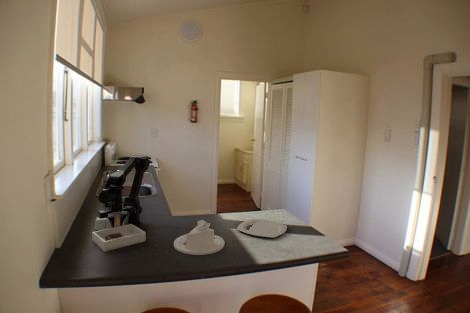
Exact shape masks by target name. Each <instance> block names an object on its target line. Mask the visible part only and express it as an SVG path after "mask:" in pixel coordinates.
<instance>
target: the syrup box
mask: <svg viewBox="0 0 470 313" xmlns="http://www.w3.org/2000/svg"><path fill="white" fill-rule="evenodd" d="M94 222H95V224H94V225H95V226H94V228H95V231H100V230H104V229H109V228H112V226H111V224H110V221H109V219H108V218H103V219H100V218H98V217H97V216H96V218H95V221H94ZM123 225H125V220H124V221H123V224H122V226H123Z"/></svg>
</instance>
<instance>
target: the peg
mask: <svg viewBox="0 0 470 313" xmlns="http://www.w3.org/2000/svg"><path fill="white" fill-rule="evenodd" d="M113 217H114V227H119V226H120V215H113Z"/></svg>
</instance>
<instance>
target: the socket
mask: <svg viewBox="0 0 470 313" xmlns="http://www.w3.org/2000/svg"><path fill="white" fill-rule="evenodd" d="M117 237H118V238H121V237H125V236H123V235H122V234H121V233H115V234H110V235H106V236H105V240H106V241H108V240H113V238H114V239H117Z"/></svg>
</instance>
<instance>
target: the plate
mask: <svg viewBox="0 0 470 313" xmlns="http://www.w3.org/2000/svg"><path fill="white" fill-rule="evenodd" d="M252 224H253V225H252ZM248 225H252V227H250V229H249V230H246V227H247V226H248ZM287 229H288V225H287V224H283V223H281V222H277V221H273V220H268V219H259V218H251V219H246V220H244V221H243V222H240V224H238V226H237V228H236V230H237V231H238V232H241V233H244V234H247V235H250V236H255V237H260V238H261V237H263V238H271V239H273V238H274V239H275V238H277V237H279V236H282V235H283V234H285V233H286V232H287Z"/></svg>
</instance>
